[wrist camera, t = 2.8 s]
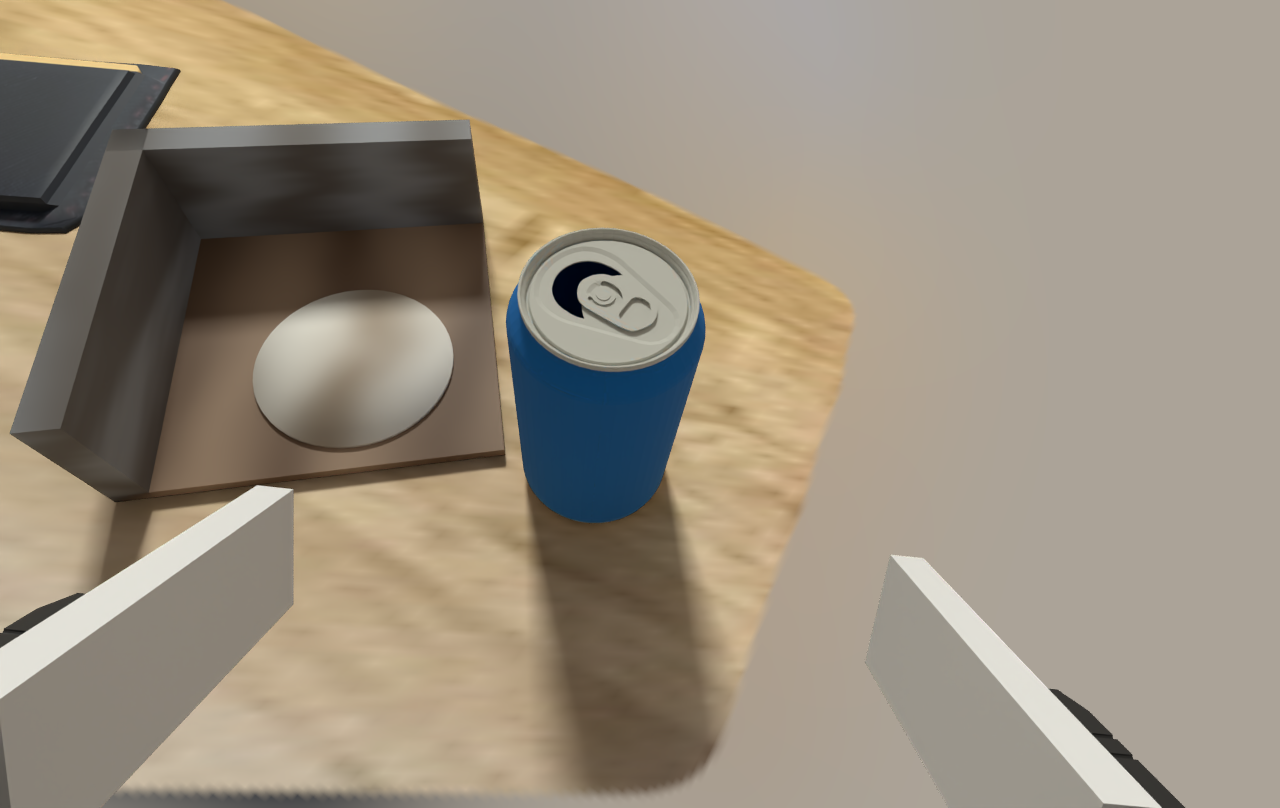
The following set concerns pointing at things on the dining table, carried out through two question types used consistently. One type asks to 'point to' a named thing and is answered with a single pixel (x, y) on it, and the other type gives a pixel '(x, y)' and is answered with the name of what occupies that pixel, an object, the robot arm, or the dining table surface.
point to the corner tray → (270, 310)
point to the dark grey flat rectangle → (64, 132)
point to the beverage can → (601, 368)
